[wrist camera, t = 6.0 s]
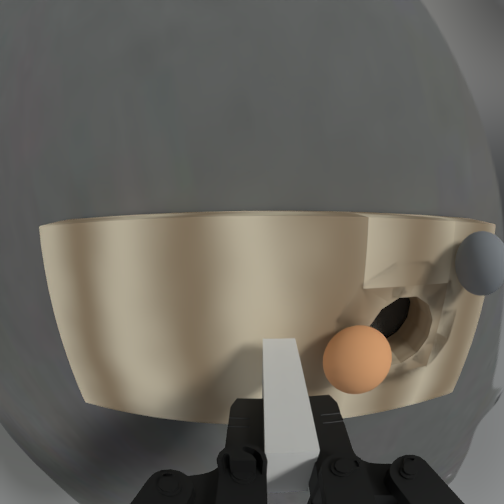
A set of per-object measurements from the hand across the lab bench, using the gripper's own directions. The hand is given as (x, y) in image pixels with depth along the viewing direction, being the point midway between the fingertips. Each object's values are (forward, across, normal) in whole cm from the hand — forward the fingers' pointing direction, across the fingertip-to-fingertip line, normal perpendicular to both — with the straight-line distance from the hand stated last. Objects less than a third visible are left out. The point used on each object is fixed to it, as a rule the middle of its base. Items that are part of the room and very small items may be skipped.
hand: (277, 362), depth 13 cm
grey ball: (0, +11, +5) cm, 12 cm away
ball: (0, +4, 0) cm, 4 cm away
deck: (+5, 0, 0) cm, 5 cm away
